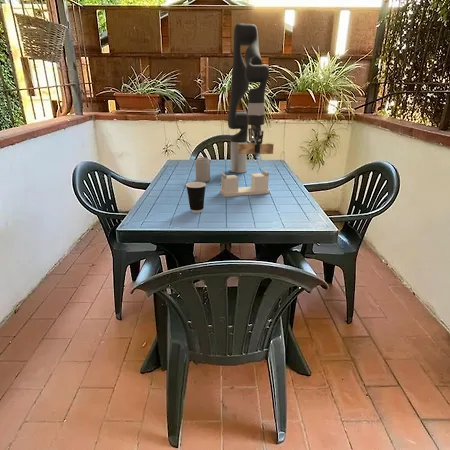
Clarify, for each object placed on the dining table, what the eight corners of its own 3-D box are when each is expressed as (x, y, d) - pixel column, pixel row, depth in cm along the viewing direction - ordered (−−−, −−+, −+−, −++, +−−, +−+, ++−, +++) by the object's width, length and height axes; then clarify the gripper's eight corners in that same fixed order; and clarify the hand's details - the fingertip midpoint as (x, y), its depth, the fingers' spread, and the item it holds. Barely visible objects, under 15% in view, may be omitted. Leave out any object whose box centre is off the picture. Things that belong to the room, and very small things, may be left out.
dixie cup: (187, 207, 144) (185, 181, 140) (206, 207, 145) (205, 181, 141) (187, 214, 137) (185, 187, 133) (207, 213, 138) (206, 186, 133)
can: (193, 181, 182) (192, 158, 178) (200, 178, 188) (200, 156, 184) (205, 183, 179) (205, 160, 175) (212, 180, 185) (212, 157, 181)
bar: (238, 154, 160) (238, 144, 159) (238, 152, 164) (238, 143, 163) (273, 153, 161) (273, 144, 159) (271, 152, 164) (272, 142, 163)
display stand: (224, 196, 158) (223, 176, 154) (220, 191, 165) (219, 172, 161) (269, 193, 163) (270, 173, 159) (263, 188, 170) (264, 169, 166)
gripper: (243, 113, 162) (242, 150, 168) (253, 114, 149) (252, 155, 155) (258, 112, 163) (257, 149, 169) (269, 114, 150) (268, 154, 157)
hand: (255, 151), depth 162 cm, fingers closed on bar, 4 cm apart
